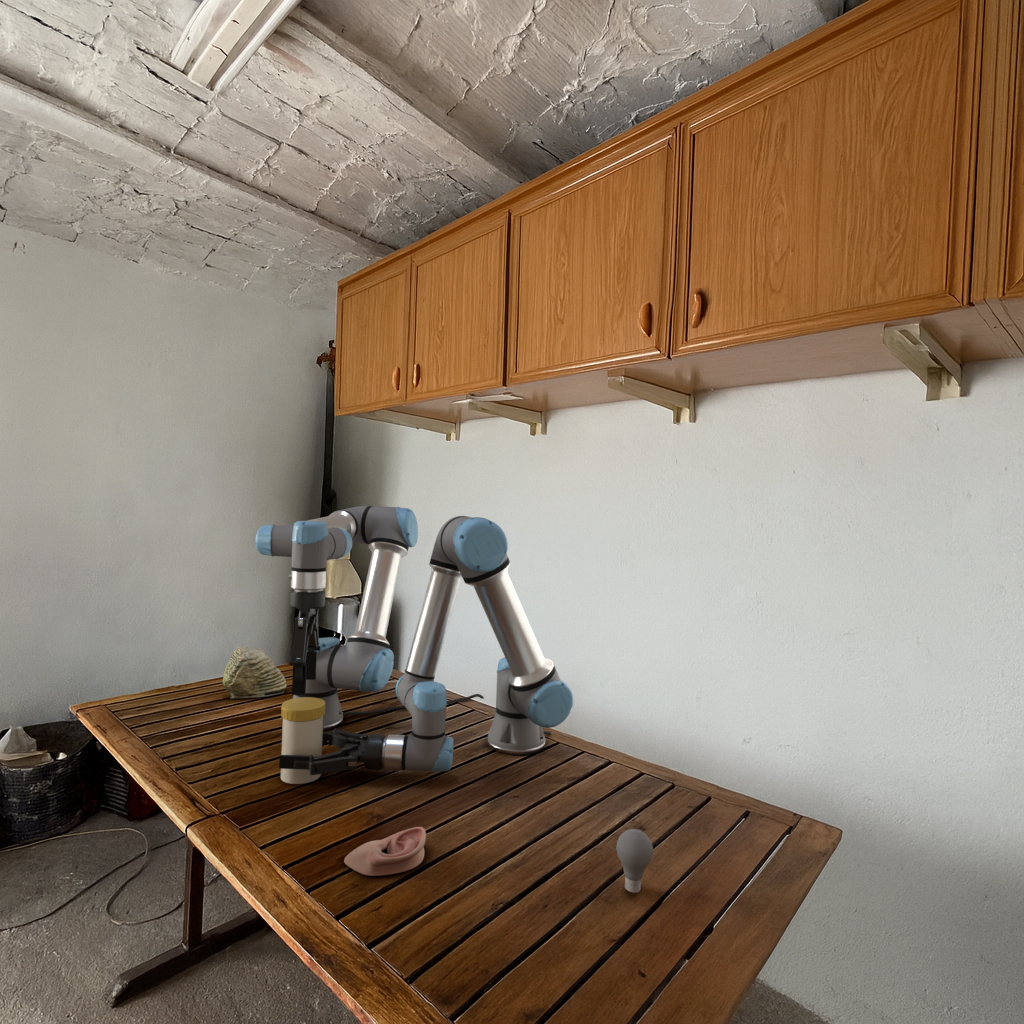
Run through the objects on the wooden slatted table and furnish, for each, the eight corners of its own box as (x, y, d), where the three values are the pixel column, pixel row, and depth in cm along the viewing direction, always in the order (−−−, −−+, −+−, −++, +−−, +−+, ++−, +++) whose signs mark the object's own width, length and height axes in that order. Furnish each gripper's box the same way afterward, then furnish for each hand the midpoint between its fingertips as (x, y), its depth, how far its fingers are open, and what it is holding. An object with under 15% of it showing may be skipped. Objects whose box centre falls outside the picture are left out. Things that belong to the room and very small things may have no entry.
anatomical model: (336, 847, 108) (365, 815, 119) (335, 870, 108) (364, 836, 119) (410, 859, 105) (432, 825, 116) (409, 883, 105) (431, 846, 116)
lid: (292, 724, 136) (292, 713, 136) (274, 712, 143) (274, 702, 143) (332, 715, 143) (333, 705, 143) (313, 704, 150) (313, 694, 150)
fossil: (218, 695, 195) (220, 647, 195) (278, 685, 208) (279, 640, 207) (228, 703, 189) (230, 653, 188) (289, 692, 201) (290, 645, 201)
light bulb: (610, 879, 108) (613, 822, 108) (644, 879, 109) (647, 822, 109) (619, 902, 102) (622, 840, 102) (655, 901, 103) (658, 840, 103)
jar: (290, 787, 137) (293, 714, 137) (273, 774, 144) (276, 704, 143) (328, 777, 143) (330, 707, 143) (310, 764, 150) (313, 697, 149)
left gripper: (302, 582, 154) (298, 672, 154) (277, 597, 131) (273, 703, 131) (333, 583, 155) (330, 672, 155) (315, 598, 131) (311, 703, 132)
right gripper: (373, 794, 131) (269, 791, 130) (393, 747, 156) (306, 744, 155) (374, 758, 131) (271, 754, 130) (394, 716, 156) (307, 713, 155)
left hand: (304, 686), depth 143 cm, fingers open, 11 cm apart
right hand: (290, 749), depth 143 cm, fingers open, 13 cm apart
